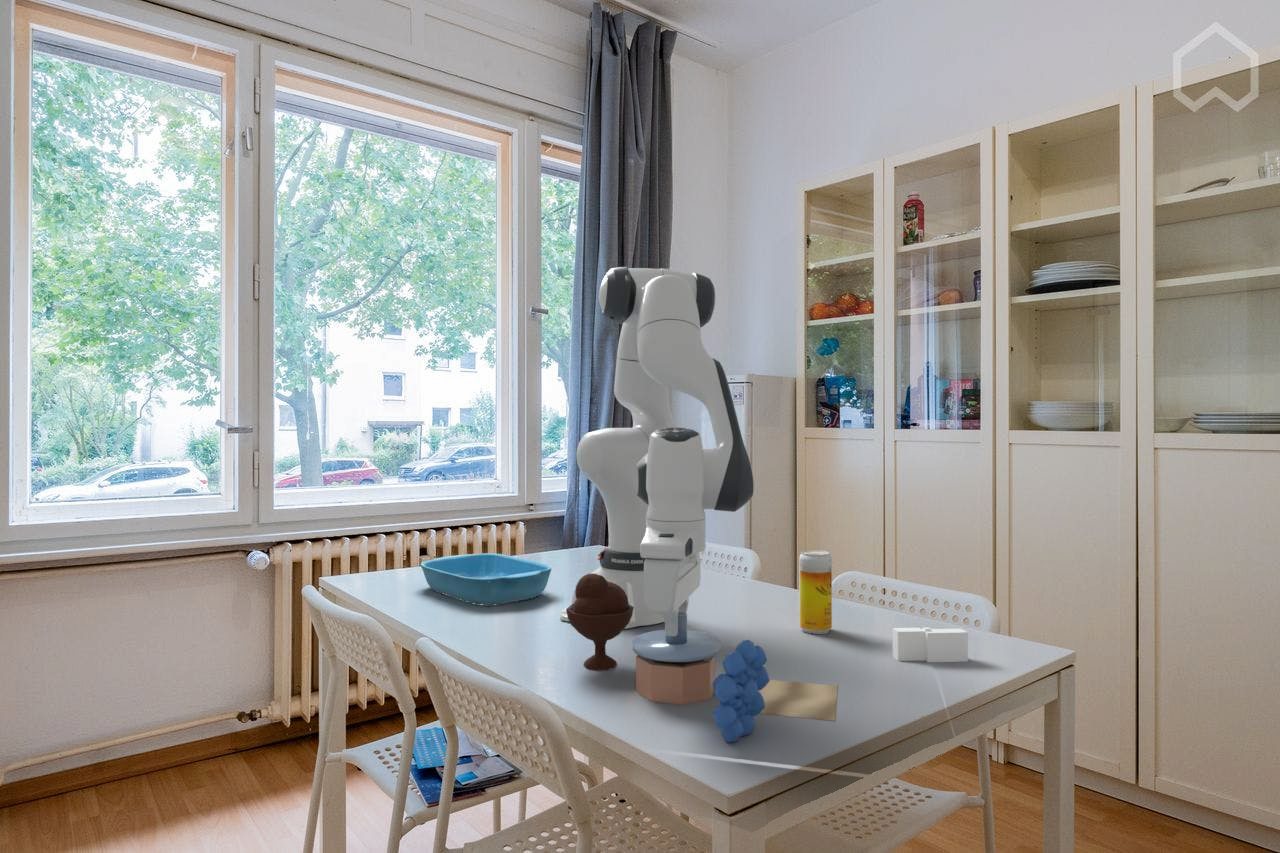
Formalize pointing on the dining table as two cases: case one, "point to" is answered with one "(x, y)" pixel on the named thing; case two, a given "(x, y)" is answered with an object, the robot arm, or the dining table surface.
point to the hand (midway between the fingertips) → (676, 630)
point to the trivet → (800, 700)
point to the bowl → (675, 680)
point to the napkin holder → (930, 644)
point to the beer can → (815, 591)
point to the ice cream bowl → (599, 616)
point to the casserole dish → (486, 577)
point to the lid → (677, 644)
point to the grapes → (740, 690)
